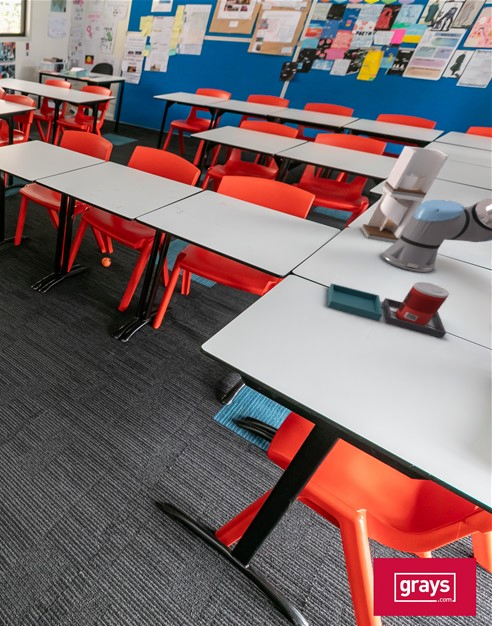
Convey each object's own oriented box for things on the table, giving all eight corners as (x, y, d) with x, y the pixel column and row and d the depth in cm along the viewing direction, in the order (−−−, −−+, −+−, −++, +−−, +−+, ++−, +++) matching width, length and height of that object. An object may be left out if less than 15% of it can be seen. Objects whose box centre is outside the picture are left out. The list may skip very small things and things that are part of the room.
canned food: (432, 329, 123) (455, 297, 117) (402, 325, 124) (424, 293, 118) (417, 314, 129) (439, 283, 123) (389, 310, 130) (409, 280, 124)
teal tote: (328, 289, 140) (331, 283, 139) (375, 301, 135) (379, 295, 134) (327, 307, 131) (331, 300, 130) (378, 321, 125) (382, 314, 124)
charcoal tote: (382, 303, 134) (385, 297, 133) (433, 316, 129) (437, 311, 128) (385, 323, 125) (389, 317, 124) (441, 338, 119) (446, 332, 118)
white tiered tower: (361, 228, 187) (404, 146, 167) (389, 233, 183) (437, 149, 163) (367, 237, 178) (414, 152, 158) (397, 242, 175) (448, 156, 155)
